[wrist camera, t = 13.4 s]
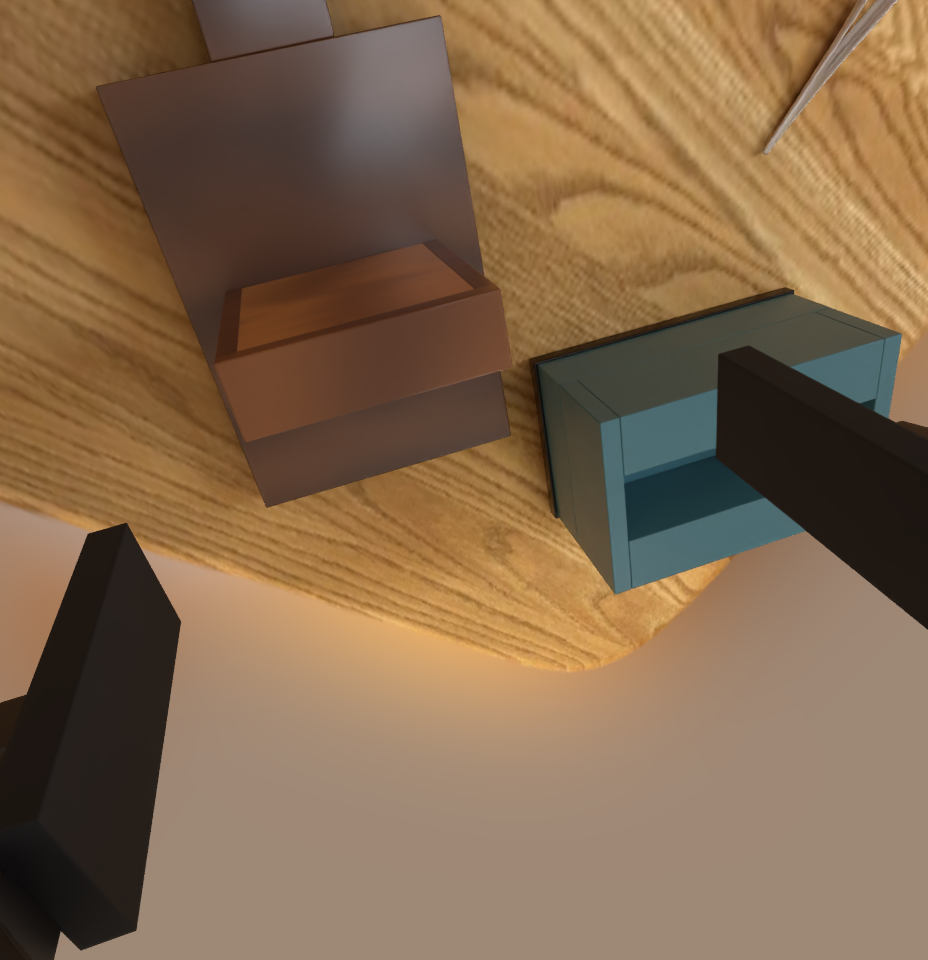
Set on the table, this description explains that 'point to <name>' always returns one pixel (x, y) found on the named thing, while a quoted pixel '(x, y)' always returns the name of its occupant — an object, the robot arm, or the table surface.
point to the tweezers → (834, 59)
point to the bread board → (308, 201)
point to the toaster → (683, 430)
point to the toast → (356, 337)
